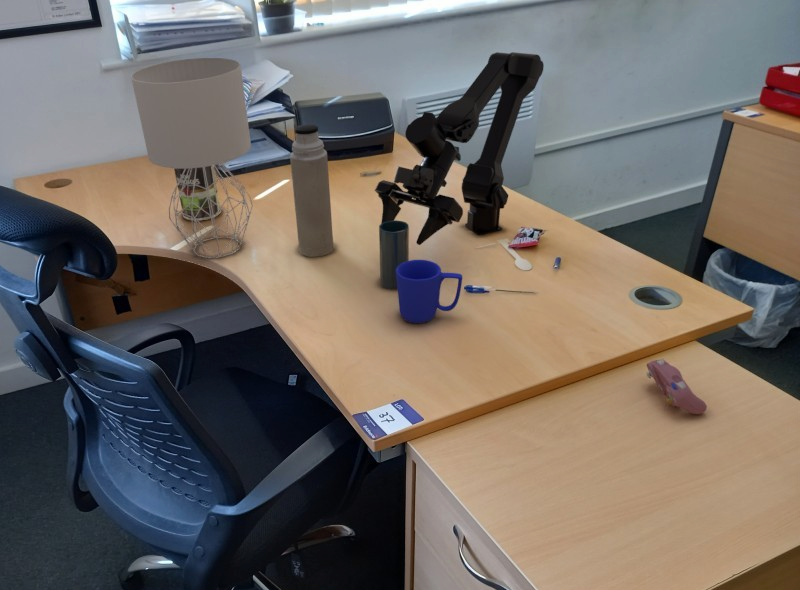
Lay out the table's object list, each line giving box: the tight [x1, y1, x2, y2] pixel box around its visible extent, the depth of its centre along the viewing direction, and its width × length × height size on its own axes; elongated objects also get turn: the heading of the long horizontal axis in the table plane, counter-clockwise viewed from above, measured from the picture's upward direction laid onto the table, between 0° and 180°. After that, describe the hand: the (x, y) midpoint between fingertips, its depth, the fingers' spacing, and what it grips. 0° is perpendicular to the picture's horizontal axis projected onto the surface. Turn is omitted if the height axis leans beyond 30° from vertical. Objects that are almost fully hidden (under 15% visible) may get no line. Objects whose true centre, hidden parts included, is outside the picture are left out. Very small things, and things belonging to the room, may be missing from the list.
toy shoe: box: [645, 358, 708, 415], centre depth 104 cm, size 10×5×7 cm, turn 5°
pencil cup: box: [378, 219, 410, 290], centre depth 139 cm, size 6×6×13 cm
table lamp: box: [130, 57, 254, 259], centre depth 151 cm, size 22×22×40 cm
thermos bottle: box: [289, 123, 334, 258], centre depth 150 cm, size 8×8×28 cm
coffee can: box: [173, 165, 222, 222], centre depth 177 cm, size 10×10×14 cm
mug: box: [396, 259, 463, 324], centre depth 127 cm, size 8×12×10 cm
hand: (399, 238), depth 138 cm, fingers open, 9 cm apart
